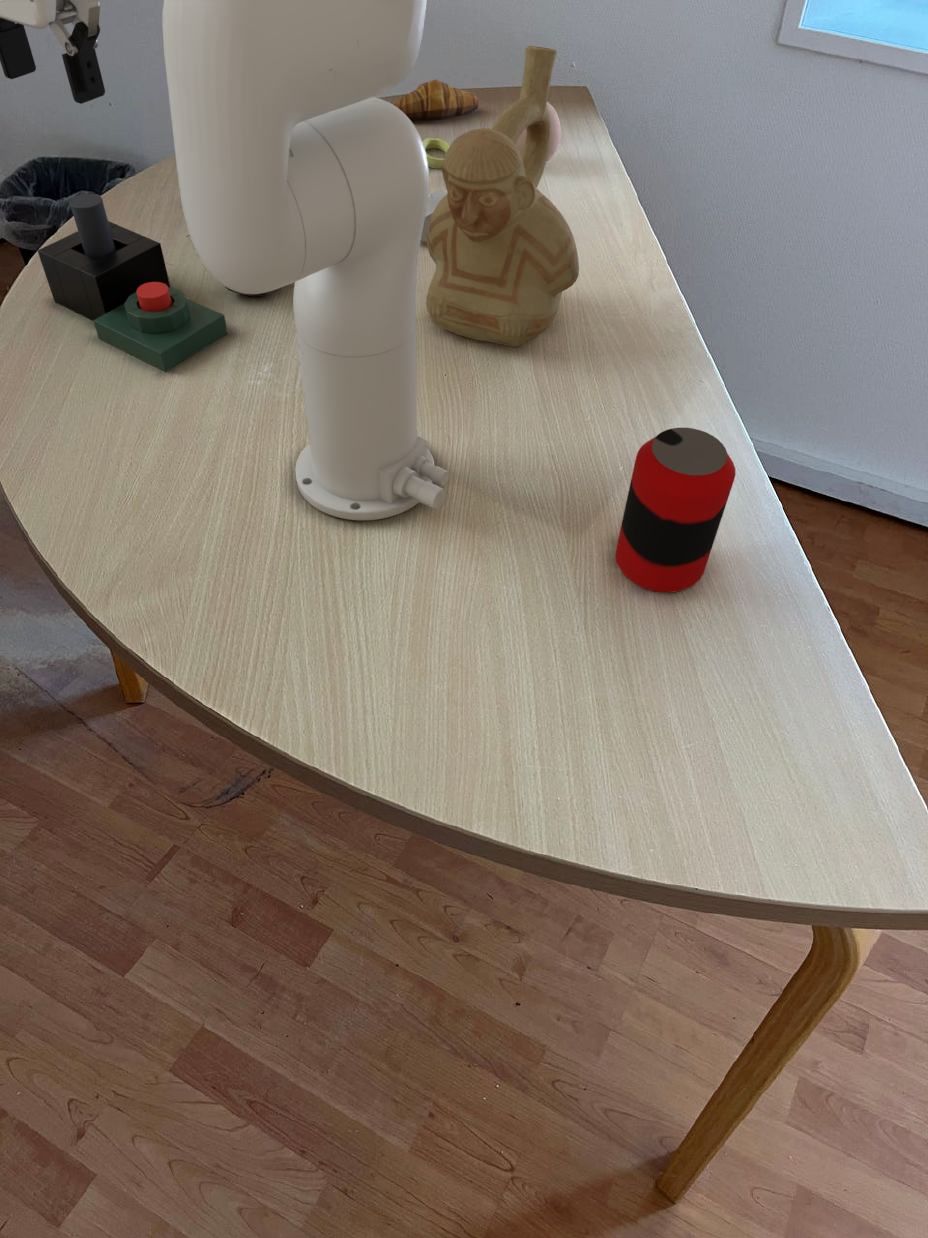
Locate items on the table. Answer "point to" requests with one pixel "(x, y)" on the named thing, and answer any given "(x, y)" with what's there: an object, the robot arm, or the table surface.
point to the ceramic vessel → (501, 225)
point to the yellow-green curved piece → (439, 145)
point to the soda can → (674, 509)
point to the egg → (554, 134)
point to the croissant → (436, 101)
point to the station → (161, 330)
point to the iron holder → (101, 271)
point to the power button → (154, 297)
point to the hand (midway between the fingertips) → (55, 86)
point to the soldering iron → (92, 225)
